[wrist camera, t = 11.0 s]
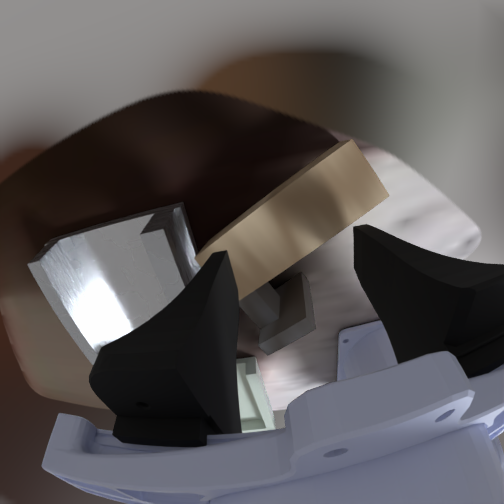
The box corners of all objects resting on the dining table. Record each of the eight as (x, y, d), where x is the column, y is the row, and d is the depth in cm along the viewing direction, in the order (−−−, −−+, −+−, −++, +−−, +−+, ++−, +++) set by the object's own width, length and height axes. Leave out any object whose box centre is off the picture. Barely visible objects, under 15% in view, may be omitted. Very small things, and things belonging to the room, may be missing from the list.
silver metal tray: (236, 359, 21) (236, 393, 18) (126, 367, 22) (117, 397, 19) (183, 201, 15) (169, 227, 12) (50, 239, 16) (24, 265, 13)
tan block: (272, 304, 18) (389, 224, 16) (267, 355, 14) (426, 253, 11) (213, 234, 17) (335, 142, 15) (186, 266, 12) (358, 137, 10)
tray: (274, 416, 27) (275, 430, 25) (162, 423, 28) (160, 435, 26) (255, 356, 21) (256, 373, 20) (113, 367, 22) (108, 382, 21)
